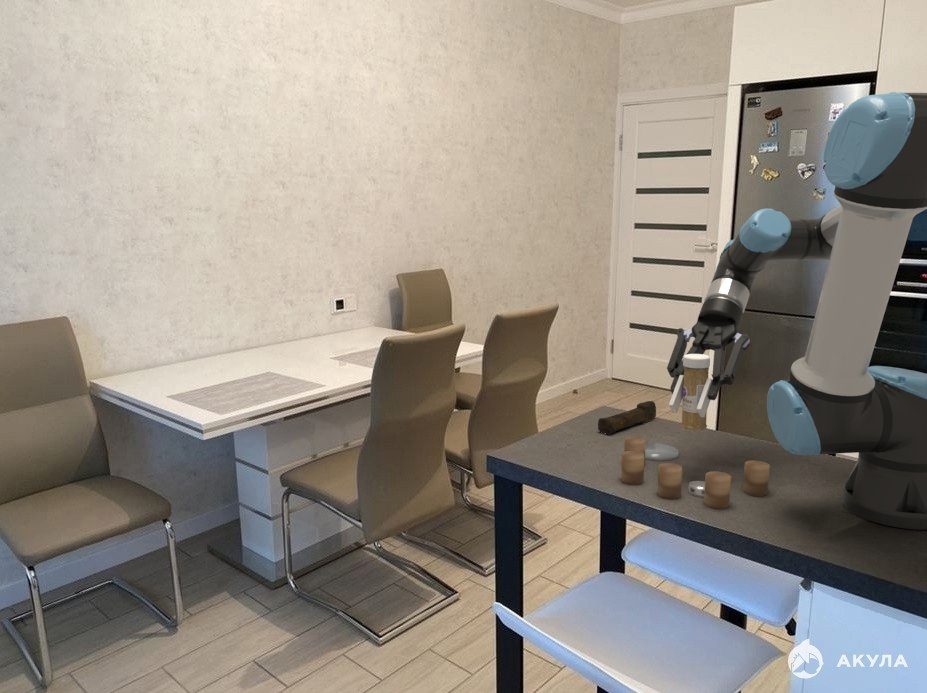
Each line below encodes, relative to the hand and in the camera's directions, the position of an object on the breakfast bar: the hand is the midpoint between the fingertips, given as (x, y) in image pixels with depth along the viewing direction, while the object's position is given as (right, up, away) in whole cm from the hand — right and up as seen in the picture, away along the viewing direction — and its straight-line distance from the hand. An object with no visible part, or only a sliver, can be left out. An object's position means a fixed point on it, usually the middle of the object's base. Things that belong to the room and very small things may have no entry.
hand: (686, 410), depth 126 cm
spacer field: (0, -13, +4) cm, 14 cm away
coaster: (-1, -10, +18) cm, 21 cm away
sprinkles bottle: (+2, -4, +4) cm, 6 cm away
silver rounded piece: (+2, -14, -2) cm, 15 cm away
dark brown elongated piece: (-2, -7, +37) cm, 38 cm away
